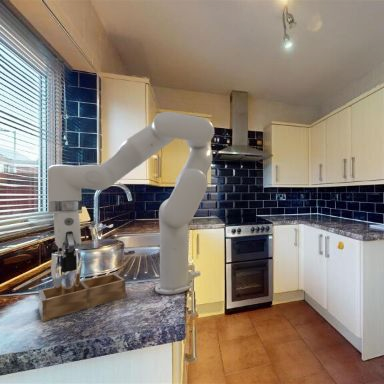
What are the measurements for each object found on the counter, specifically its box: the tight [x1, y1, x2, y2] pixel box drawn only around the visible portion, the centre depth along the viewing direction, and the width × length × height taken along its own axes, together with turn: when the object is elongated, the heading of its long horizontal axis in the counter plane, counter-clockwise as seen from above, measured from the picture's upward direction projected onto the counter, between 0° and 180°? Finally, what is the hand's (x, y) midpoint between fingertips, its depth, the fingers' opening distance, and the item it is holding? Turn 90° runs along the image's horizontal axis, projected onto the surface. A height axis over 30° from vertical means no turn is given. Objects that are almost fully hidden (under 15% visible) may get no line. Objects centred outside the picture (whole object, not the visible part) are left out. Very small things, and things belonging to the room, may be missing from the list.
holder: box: [38, 272, 126, 323], centre depth 70 cm, size 20×10×5 cm, turn 137°
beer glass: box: [50, 248, 83, 297], centre depth 67 cm, size 7×7×15 cm
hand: (66, 267), depth 67 cm, fingers closed on beer glass, 7 cm apart
